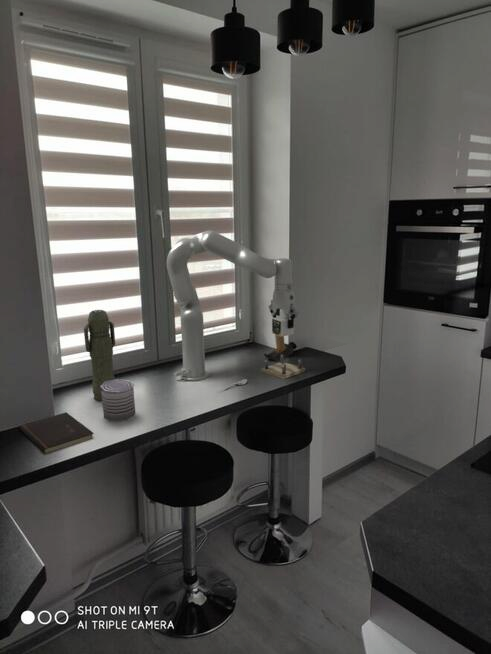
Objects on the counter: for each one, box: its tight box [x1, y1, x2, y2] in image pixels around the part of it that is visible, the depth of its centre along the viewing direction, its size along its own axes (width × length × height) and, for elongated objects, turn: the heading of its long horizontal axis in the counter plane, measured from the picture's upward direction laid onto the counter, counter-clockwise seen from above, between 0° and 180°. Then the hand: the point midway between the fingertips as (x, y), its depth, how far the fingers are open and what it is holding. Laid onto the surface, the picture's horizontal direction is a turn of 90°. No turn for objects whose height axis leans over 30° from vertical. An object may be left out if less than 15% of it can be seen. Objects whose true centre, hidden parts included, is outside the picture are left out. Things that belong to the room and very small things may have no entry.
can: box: [100, 378, 136, 423], centre depth 176 cm, size 11×11×12 cm
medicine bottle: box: [271, 309, 295, 337], centre depth 216 cm, size 7×7×12 cm
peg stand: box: [260, 355, 306, 380], centre depth 221 cm, size 14×14×6 cm
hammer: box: [263, 299, 297, 362], centre depth 239 cm, size 20×5×30 cm, turn 139°
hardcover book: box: [20, 411, 95, 454], centre depth 164 cm, size 16×23×2 cm
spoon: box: [216, 378, 248, 394], centre depth 203 cm, size 4×21×2 cm, turn 136°
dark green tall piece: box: [83, 309, 116, 402], centre depth 191 cm, size 9×12×35 cm
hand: (283, 326), depth 217 cm, fingers closed on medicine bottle, 8 cm apart
